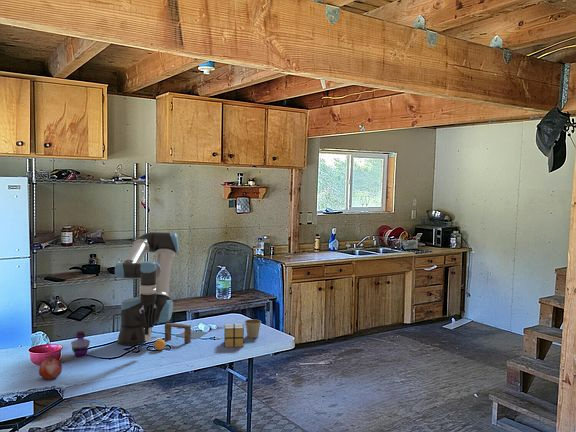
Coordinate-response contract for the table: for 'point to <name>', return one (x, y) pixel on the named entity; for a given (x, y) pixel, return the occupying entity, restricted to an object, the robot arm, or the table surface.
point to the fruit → (50, 368)
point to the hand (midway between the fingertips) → (148, 340)
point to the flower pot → (252, 327)
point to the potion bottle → (80, 344)
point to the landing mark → (193, 334)
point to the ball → (159, 344)
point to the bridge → (186, 327)
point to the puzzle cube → (234, 335)
